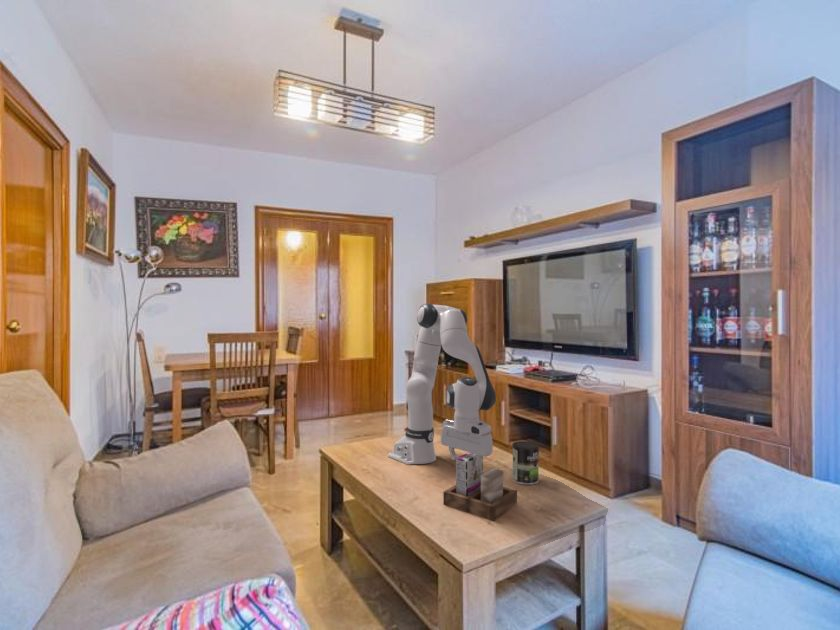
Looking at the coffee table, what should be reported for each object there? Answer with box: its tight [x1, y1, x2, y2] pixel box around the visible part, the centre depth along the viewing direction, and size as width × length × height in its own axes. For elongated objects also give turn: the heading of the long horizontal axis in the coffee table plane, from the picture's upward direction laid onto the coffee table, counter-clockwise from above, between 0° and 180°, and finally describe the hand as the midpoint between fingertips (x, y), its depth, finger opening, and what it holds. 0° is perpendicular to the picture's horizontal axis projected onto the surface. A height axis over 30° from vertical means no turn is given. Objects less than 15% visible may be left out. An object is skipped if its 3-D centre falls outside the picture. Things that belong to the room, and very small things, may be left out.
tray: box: [442, 467, 518, 522], centre depth 163 cm, size 20×17×12 cm
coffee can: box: [511, 440, 540, 486], centre depth 185 cm, size 10×10×14 cm
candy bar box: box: [455, 452, 484, 497], centre depth 165 cm, size 11×5×16 cm, turn 142°
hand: (464, 462), depth 165 cm, fingers open, 8 cm apart
